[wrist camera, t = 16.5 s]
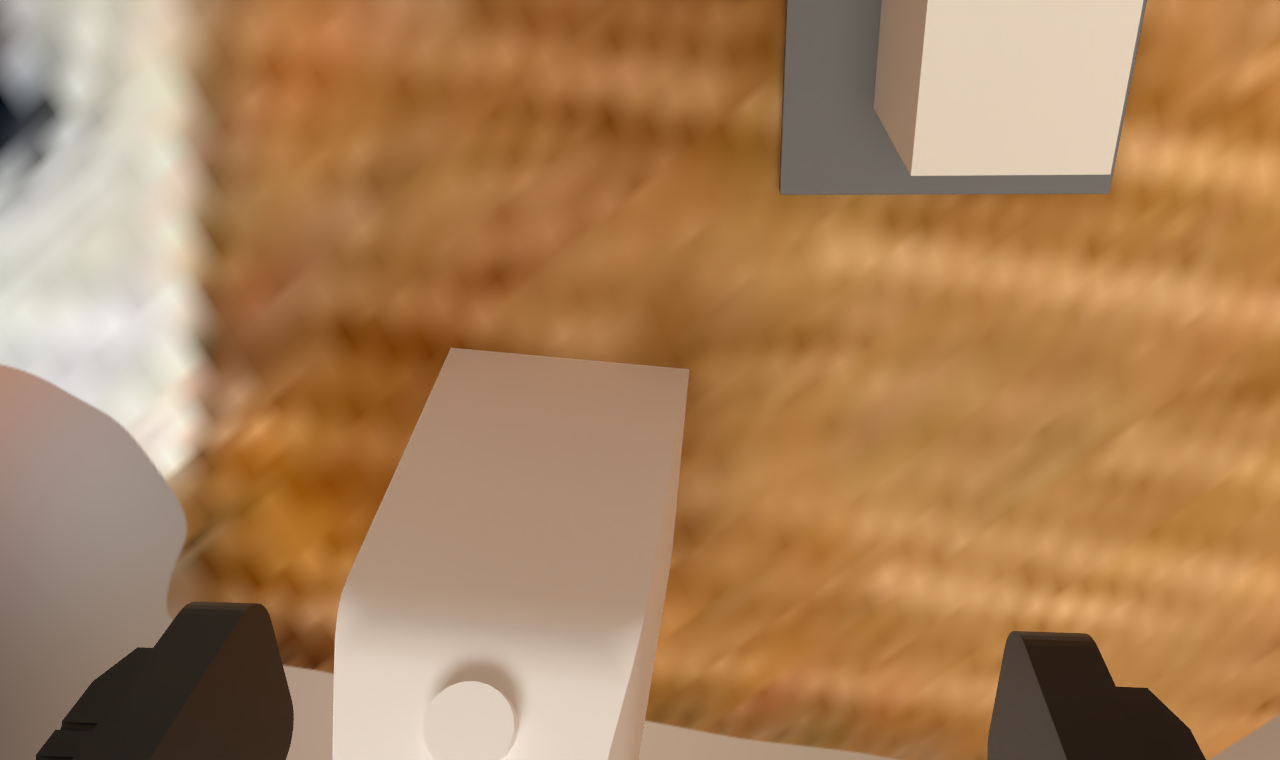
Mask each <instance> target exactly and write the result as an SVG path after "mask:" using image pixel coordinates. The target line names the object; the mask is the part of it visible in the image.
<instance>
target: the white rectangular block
mask: <svg viewBox="0 0 1280 760" xmlns="http://www.w3.org/2000/svg"><path fill="white" fill-rule="evenodd" d="M1143 1H1144V0H882V4H881V17H880V30H879V43H878V56H877V69H876V82H875V96H874V110H875V112H876V114H877V115H878V117H879V119H880V121H881V123H882V125H883V126H884V128H885V130H886V132H887V134H888V135H889V137H890V139H891V141H892V143H893V144H894V146H895V148H896V150H897V152H898V154H899V155H900V157H901V159H902V161H903V163H904V164H905V166H906V168H907V170H908V172H909V173H910V175H911V176H970V175H1110V174H1111V169H1112V164H1113V158H1114V153H1115V148H1116V143H1117V137H1118V132H1119V127H1120V122H1121V116H1122V111H1123V106H1124V101H1125V95H1126V90H1127V85H1128V80H1129V74H1130V69H1131V64H1132V59H1133V53H1134V48H1135V43H1136V38H1137V32H1138V27H1139V22H1140V17H1141V11H1142V6H1143Z"/></svg>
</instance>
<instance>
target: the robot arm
mask: <svg viewBox="0 0 1280 760" xmlns="http://www.w3.org/2000/svg"><path fill="white" fill-rule="evenodd" d="M293 720H294V719H293V705H292V700H291V696H290V692H289V689H288V684H287V681H286V677H285V673H284V669H283V665H282V661H281V657H280V653H279V649H278V645H277V642H276V638H275V634H274V630H273V626H272V622H271V619H270V616H269V613H268V611H267V610H266V608H265V607H264V606H263V605H261V604H255V603H225V602H191V603H189V604H187V605H186V606H185V607H184V608H183V609H182V610H181V611H180V612H179V613H178V615H177V616H176V617H175V619H174V620H173V622H172V623H171V624H170V626H169V627H168V628H167V630H166V631H165V633H164V634H163V635H162V637H161V638H160V639H159V641H158V642H157V644H156V645H155V646H154V648H137V649H135V650H134V651H133V652H131V653H130V654H128V655H127V656H126V657H125V658H123V659H122V660H121V661H119V662H118V663H117V664H115V665H114V666H113V667H111V668H110V669H109V670H107V671H106V672H105V673H104V674H102V675H101V676H99V677H98V678H97V679H95V680H94V681H93V682H92V683H91V685H90V686H89V687H88V689H87V690H86V691H85V692H84V694H83V695H82V697H81V698H80V699H79V700H78V701H77V703H76V704H75V705H74V707H73V708H72V709H71V711H70V712H69V713H68V714H67V716H66V717H65V718H64V720H63V721H62V727H61V729H60V730H55V731H54V733H53V734H52V735H51V736H50V738H49V739H48V740H47V742H46V743H45V744H44V745H43V747H42V748H41V749H40V751H39V752H38V753H37V755H36V760H286V757H287V754H288V751H289V748H290V744H291V738H292V731H293ZM988 760H1206V759H1205V757H1204V755H1203V753H1202V751H1201V750H1200V748H1199V746H1198V744H1197V742H1196V740H1195V738H1194V736H1193V734H1192V732H1191V730H1190V729H1189V728H1188V727H1187V726H1186V725H1185V724H1184V723H1183V722H1182V721H1181V720H1180V719H1179V718H1178V717H1177V716H1176V715H1175V714H1174V713H1173V712H1172V711H1171V710H1169V709H1168V708H1167V707H1166V706H1165V705H1164V704H1163V703H1162V702H1161V701H1160V700H1159V699H1158V698H1157V697H1156V696H1155V695H1154V694H1153V693H1152V692H1151V691H1150V690H1149V689H1148V688H1132V687H1116V686H1115V684H1114V682H1113V679H1112V677H1111V675H1110V673H1109V671H1108V669H1107V666H1106V664H1105V662H1104V660H1103V658H1102V656H1101V653H1100V651H1099V649H1098V647H1097V645H1096V643H1095V641H1094V640H1093V639H1092V637H1090V636H1089V635H1088V634H1084V633H1054V632H1024V631H1013V632H1011V633H1010V634H1009V636H1008V638H1007V641H1006V645H1005V649H1004V655H1003V660H1002V666H1001V671H1000V676H999V682H998V687H997V693H996V698H995V703H994V709H993V714H992V720H991V725H990V731H989V737H988Z"/></svg>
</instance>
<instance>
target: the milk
mask: <svg viewBox="0 0 1280 760" xmlns="http://www.w3.org/2000/svg"><path fill="white" fill-rule="evenodd" d="M688 379H689V369H681V368H670V367H659V366H648V365H637V364H626V363H615V362H604V361H593V360H582V359H571V358H560V357H549V356H538V355H527V354H516V353H505V352H494V351H483V350H471V349H460V348H451V349H450V351H449V353H448V355H447V358H446V360H445V362H444V364H443V366H442V369H441V371H440V373H439V375H438V378H437V380H436V382H435V384H434V386H433V389H432V391H431V393H430V395H429V398H428V400H427V402H426V404H425V406H424V409H423V411H422V413H421V415H420V418H419V420H418V422H417V424H416V426H415V429H414V431H413V433H412V435H411V438H410V440H409V442H408V444H407V446H406V449H405V451H404V453H403V455H402V458H401V460H400V462H399V464H398V467H397V469H396V471H395V473H394V475H393V478H392V480H391V482H390V484H389V487H388V489H387V491H386V493H385V495H384V498H383V500H382V502H381V504H380V507H379V509H378V511H377V513H376V515H375V518H374V520H373V522H372V524H371V527H370V529H369V531H368V533H367V535H366V538H365V540H364V542H363V544H362V547H361V549H360V551H359V553H358V555H357V558H356V560H355V562H354V564H353V567H352V569H351V571H350V573H349V575H348V578H347V580H346V583H345V586H344V589H343V592H342V594H341V599H340V604H339V609H338V614H337V624H336V633H335V654H334V701H333V702H334V703H333V757H332V758H333V759H332V760H638V758H639V752H640V745H641V740H642V734H643V727H644V722H645V715H646V709H647V703H648V697H649V691H650V685H651V679H652V673H653V667H654V661H655V655H656V649H657V643H658V637H659V631H660V625H661V619H662V613H663V607H664V601H665V595H666V588H667V582H668V576H669V570H670V564H671V558H672V550H673V540H674V529H675V518H676V508H677V497H678V486H679V475H680V465H681V454H682V443H683V432H684V422H685V411H686V400H687V389H688Z"/></svg>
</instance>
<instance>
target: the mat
mask: <svg viewBox="0 0 1280 760" xmlns="http://www.w3.org/2000/svg"><path fill="white" fill-rule="evenodd" d="M1146 2H1147V0H1144V1H1143V6H1142V11H1141V17H1140V22H1139V27H1138V32H1137V38H1136V43H1135V48H1134V53H1133V59H1132V64H1131V69H1130V74H1129V80H1128V85H1127V90H1126V95H1125V101H1124V106H1123V111H1122V116H1121V122H1120V127H1119V132H1118V137H1117V143H1116V148H1115V153H1114V158H1113V164H1112V169H1111V174H1110V175H970V176H911V175H910V173H909V172H908V170H907V168H906V166H905V164H904V163H903V161H902V159H901V157H900V155H899V154H898V152H897V150H896V148H895V146H894V144H893V143H892V141H891V139H890V137H889V135H888V134H887V132H886V130H885V128H884V126H883V125H882V123H881V121H880V119H879V117H878V115H877V114H876V112H875V110H874V96H875V82H876V69H877V56H878V43H879V30H880V17H881V4H882V0H786V23H785V50H784V77H783V104H782V131H781V158H780V185H779V189H780V195H859V194H1109V192H1110V187H1111V182H1112V177H1113V172H1114V167H1115V161H1116V156H1117V151H1118V146H1119V141H1120V136H1121V131H1122V125H1123V120H1124V115H1125V110H1126V105H1127V100H1128V95H1129V89H1130V84H1131V79H1132V74H1133V69H1134V64H1135V59H1136V54H1137V48H1138V43H1139V38H1140V33H1141V28H1142V23H1143V18H1144V12H1145V7H1146Z"/></svg>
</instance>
